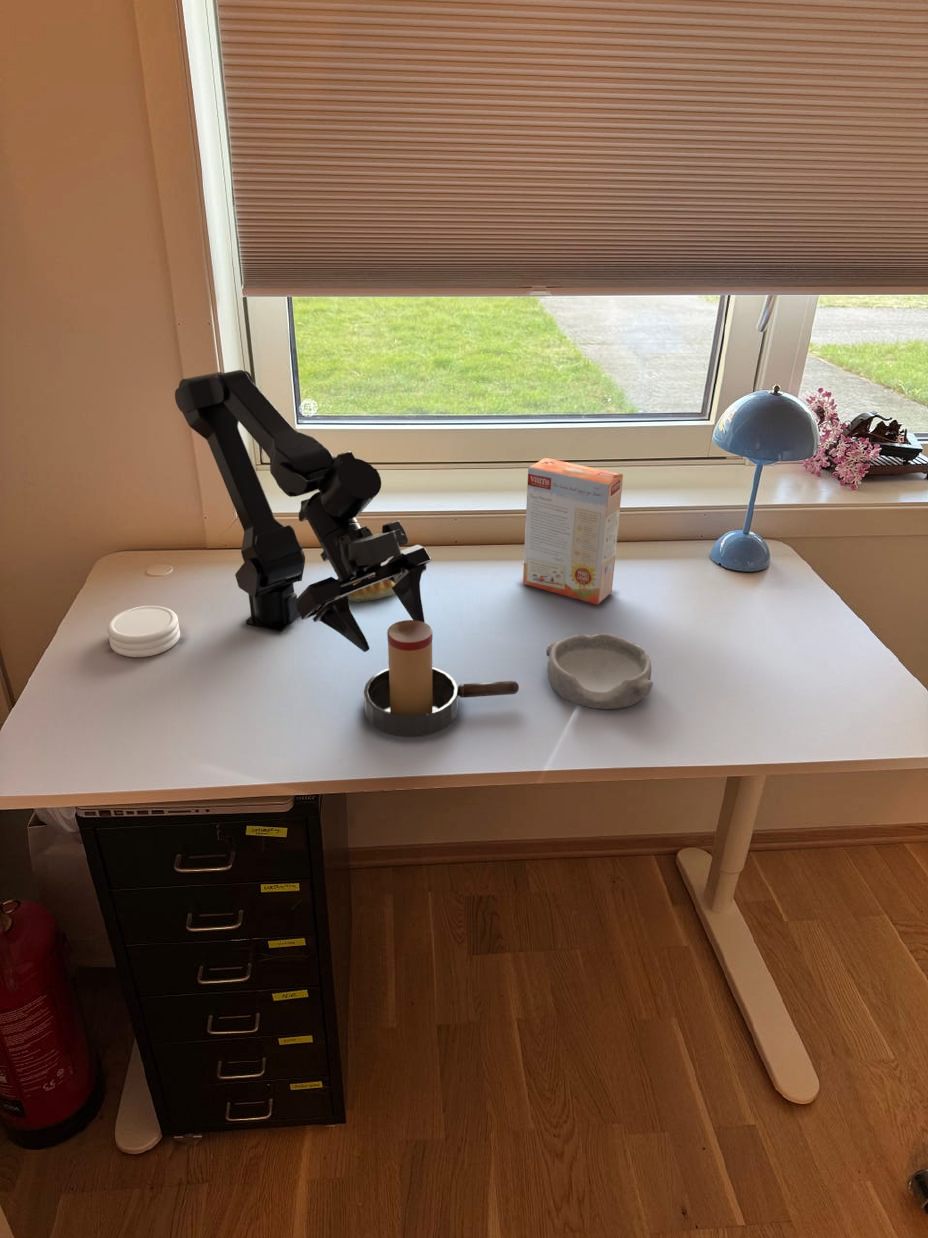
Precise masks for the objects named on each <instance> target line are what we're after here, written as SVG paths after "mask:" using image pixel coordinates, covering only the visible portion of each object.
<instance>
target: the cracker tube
mask: <svg viewBox="0 0 928 1238" xmlns="http://www.w3.org/2000/svg"><path fill="white" fill-rule="evenodd" d="M386 631H387V632H386V634H387V636H386V637H387V652H388V655H387V656H388V668H389V685H390V711H391V713H395V714H401V715H417V714H424V713H429V712H432V709H433V696H432V667H433V628H432V627H431V626H430V625H429V624H428V623H426V622H425V623H424V622H421V621H416V620H413V619H405V620H400V621H397V622H395V623H393V624H391V625H390V626H389V627H388V629H387V630H386Z"/></svg>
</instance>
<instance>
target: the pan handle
mask: <svg viewBox="0 0 928 1238" xmlns="http://www.w3.org/2000/svg"><path fill="white" fill-rule="evenodd" d="M457 687H458V698H461V699H465V698H466V699H467V698H480V697H496V696H509V695H515V694H517V693H518V692H519V691H520V686H519V683H517V681H515V680H505V681H504V680H503V681H490V682H474V683H462V684H459V685H457Z"/></svg>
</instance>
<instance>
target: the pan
mask: <svg viewBox="0 0 928 1238" xmlns="http://www.w3.org/2000/svg"><path fill="white" fill-rule="evenodd" d="M432 696H433V709H432V712H429V713H424V714H417V715H401V714H395V713H391V711H390V685H389V667H388V668H385V669H382V670H380V671H379V672H377V673H375V674H374V675H372V676H371V677H370V679H368V681H367V682H366V683H365V686H364V689H363V704H364V706H363V707H364V713H365V717H366V720H367V721H368V722H369V723H370V725H371V726H372V727H374V729H376V730H378V731H380V732H381V733H385V734H386V735H387V734H388V735H391V736H395V737H402V738H419V737H425V736H430V735H433V734H436V733H438V732H441V731H442V730H444V729H446V728H447V727H449V726H450V725H451V724H452V723H453V722H454V720H455V719H456V717H457V715H458V711H459V696H458V684H457V682H456V680H455V679H454V678H453V677H452V676H451V675H450V674H449V673H448V672H446V671H444V670H442V669H440V668H437V667H434V666H432Z"/></svg>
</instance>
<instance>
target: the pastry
mask: <svg viewBox="0 0 928 1238" xmlns="http://www.w3.org/2000/svg"><path fill="white" fill-rule="evenodd" d="M382 565H383V564H381V566H382ZM374 576H375V575H374ZM374 576H373V577H374ZM371 578H372V577H371ZM369 579H370V577H369ZM357 583H360V581H359V582H357ZM355 584H356V583H354V584H353V585H355ZM395 584H396V583H394V582H392V581H390V580H389V579H385V580H383V581H380V582H378V583H375V584H373V585H370V586H368V587H365V588H362V589H360V590H357V591H355V592H352V593H350V594H347V595H345V596H348V601H351V602H356V603H358V602H361V603H363V602H365V601H366V602H367V601H370V602H371V601H375V600H380V599H384V598H386V597H391V596H394V595H396V594H395V592H394V591H393V589H392V587H393V586H394V585H395ZM345 596H342V597H345Z"/></svg>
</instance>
